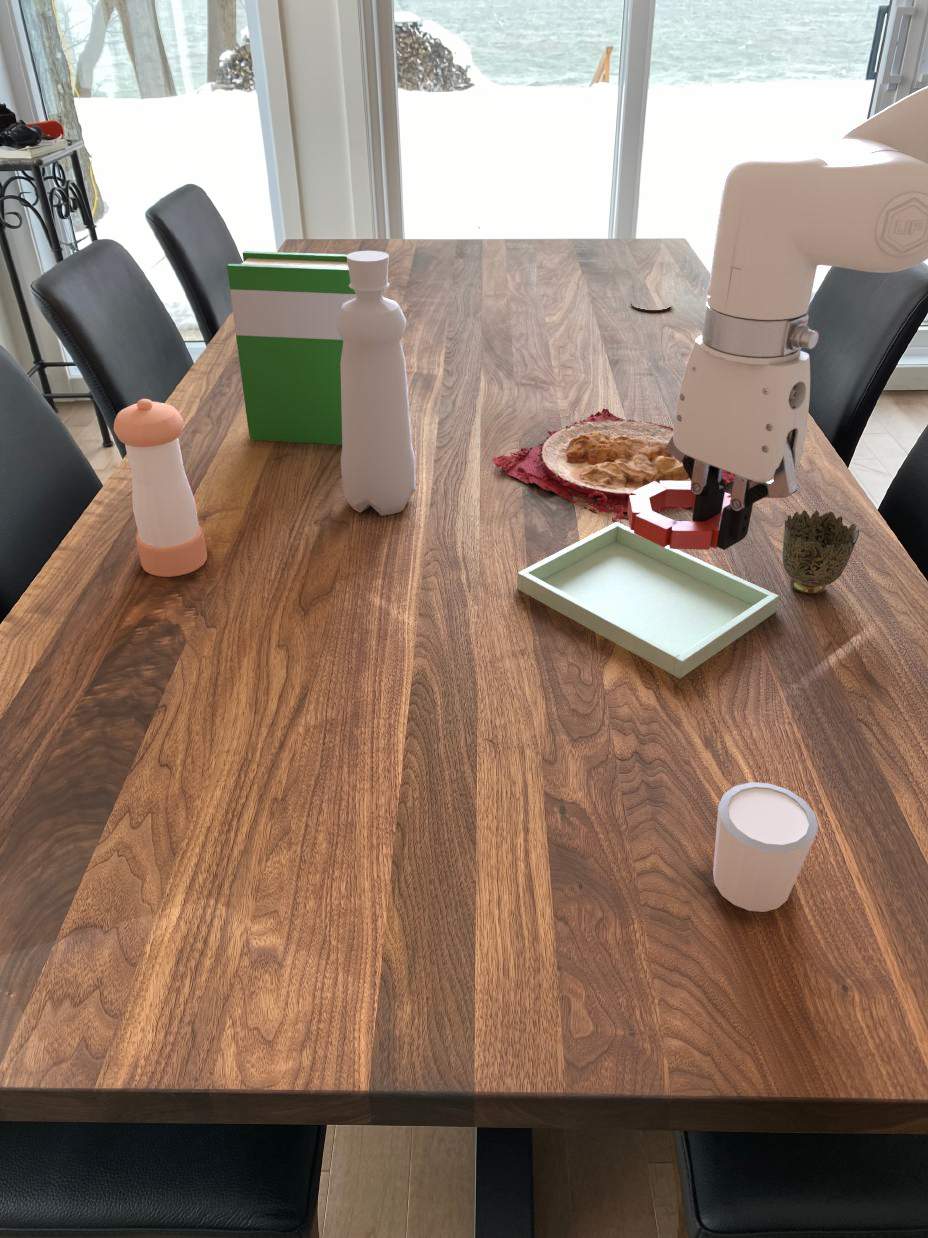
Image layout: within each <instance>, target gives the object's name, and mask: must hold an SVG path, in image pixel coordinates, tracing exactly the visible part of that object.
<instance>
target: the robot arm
mask: <svg viewBox="0 0 928 1238" xmlns="http://www.w3.org/2000/svg"><path fill="white" fill-rule="evenodd" d="M720 196H721V197H720V204H719V209H718V210H719V211H718V219H717V224H716V234H715V240H714V247H713V253H712V261H711V268H710V276H709V283H708V289H707V295H706V303H705V310H704V317H703V324H702V325H703V326H702V332H701V335H699V336H698V337H696V339H695V341H694V343H693V346H692V348H691V350H690V353H689V356H688V358H687V362H686V365H685V369H684V372H683V375H682V380H681V384H680V388H679V392H678V397H677V402H676V407H675V412H674V418H673V427H672V428H673V436H672V438H671V439H670V441H669V443H668V445H667V449H668V451H669V452H670V453H671V454H672V455H673V456H674V457H675V458H676V459H677V460H678V461H679V462H680V463H683V467H684V469H685V470H686V472H687V474H688V476H689V478H690V479H691V490H692V492H693V493H694V494H696V497H695V504H694V508H693V510H692V511H693V512H692V517H691V518H692V521H693V522H704V521H706V520H708V519H710V518H712V517H714V516H716V515H717V514H719V513H721V511H722V506H723V500H724V494H725V492H726V491H725V486H723V485H721V482H722V481H721V477H722V471H723V470H725V471H727V472H730V473H732V474H735V476H734V480H733V481H732V488H731V493H730V494H731V500H730V504H729V505H727V506H726V507H724V508H723V511H722V517H721V523H720V529H719V530H720V531H719V537H718V543H717V545H718V547H717V549H718V548H719V549H721V550H723V551H725V550H727V549H729V548H731V547H732V546H734V545H736V544H737V543H740V542H741V541H743V540H745V538H746V537H747V535H748V532H749V527H750V523H751V517H752V511H753V507H754V504H755V503H756V502H759V501H761V500H762V499H783V498H788V497H790V496H791V495H793V494H795V493H797V491H798V489H799V487H798V482H797V476H796V475H797V474H796V470H795V469H796V468H797V467H799V465H800V463H801V460H802V456H803V452H804V447H805V441H806V434H807V427H808V419H809V410H810V399H811V357H810V354H809V353H808V352H806V351H803V350H802V349H803V348H805V349H808V350H813V348H815V347H816V346H817V344H818V342H819V341H818V340H819V337H820V335H819V334H820V333H819V332H818V331H817V330H814V329H811V327H809V326H808V325H809V324H808V323H809V318H810V314H808V312H809V308H810V303H811V298H812V292H813V288H814V283H815V277H816V273H817V267H818V266H827V267H834V268H842V269H847V270H853V271H858V272H859V271H860V272H867V273H876V274H877V273H878V274H888V273H897V272H901V271H905V270H909V269H911V268H914V267H916V266H917V265H920V264H922V263H923V262H925V261H926V260H928V85H927V86H925V87H923V88H921V89H919V90H917V91H915V92H913V93H910V94H909V95H907V96H905V97H903V98H901V99H900V100H898V101H897V102H895V103H893V104H891V105H889V106H887V107H886V108H883V110H881V111H879V112H877V113H876V114H874V115H873V116H871V117H869V118H868V119H865V120H864V121H863V122H861V123H859V124H857V125H856V126H854V127H853V128H850V129H849V130H848V131H846V132H845V133H843V134H842V135H840V136H838V137H837V138H836V139H835V140H833V141H832V142H830V143H829V144H828V145H827V146H826V147H825V148H824V149H822V151H820V152H819V153H818V154H817V156H816V155H814V154H808V153H804V152H796V151H785V150H765V151H764V150H763V151H762V150H761V151H752V152H748V153H745V154H742V155H740V156H738V157H736V158H735V159H733V160H732V162H731V163H730V164H729V166H728V167H727V169H726V172H725V175H724V178H723V184H722V189H721V195H720Z"/></svg>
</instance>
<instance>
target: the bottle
mask: <svg viewBox="0 0 928 1238" xmlns="http://www.w3.org/2000/svg"><path fill="white" fill-rule="evenodd" d="M346 255H347V262H348V268H349V274H350V281H351V283H350V285H349V287H350V288H352V289H354V291H355V293H356V295H357V298H355V299H352V300H350V301H348V302H345V303H344V304H343V305H342V307H341V309H340V312H339V315H338V317H337V320H336V322H335V323H336V327H337V330H338V334H339V336H340V337H341V339H342V340H343V349H342V356H341V408H342V445H341V446H342V448H341V456H340V470H341V482H342V494H343V497H344V499H345V501H346V502H347V503H348V504H349V506H350V507H351V508H352V509H353V510H354V511H356V512H358V513H362V512H364V511H366V510H368V509H369V508H370V507H372V508H373V509H374V510H375V511H376V512H377V513H378V514H379V515H380V516H382V517H383V516H388V515H394V514H397V513H400V512H403V510H404V509H405V507H406V505H407V504H408V501H410V500H411V498H412V497H413V495H414V493H415V492H416V490H417V487H416V486H417V485H416V455H415V453H414V448H413V441H412V429H411V416H410V402H409V401H410V400H409V389H408V388H409V387H408V376H407V364H406V358H405V354H404V349H403V344H402V341H401V340H402V338H403V337H404V334H405V331H406V326H407V318H406V316H405V315H404V313H403V311H402V308H401V306H400V304H399V303H397V301H395V300H392V299H390V298H387V297H384V296H383V295H384V292H385V290H386V289H388V288H389V287H390V283H389V282H388V275H389V261H390V259H389V258H390V255H389V254H388V253H387V252H384V251H380V250H358V251H353V252H349V253H348V254H346Z"/></svg>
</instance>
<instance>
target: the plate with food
mask: <svg viewBox="0 0 928 1238" xmlns="http://www.w3.org/2000/svg"><path fill="white" fill-rule="evenodd" d="M547 434H548V436H547V437H546V438H545V439H544V440H543V442H541V443H539V444H538V445H537V446H533V447H530V448H529V447H527V446H526V447H524V448H523V447H522V448H520V450H517V451H516V452H511V451H510V452H509V454H510V456H509V455H504V454H503V455H500V456H497V457H495V456H494V457H493V458H492V459H491V461H492V463H493V464H494V465H495V466H496V468H497V469H498V468H501V470H502V471H505V472H504V474H506V475H509V476H510V477H513V478H515V479H518V480H519V481H521V482H523V483H526V484H527V485H531V484H535V485H537V487H540V488H541V489H543V490H545V491H547V492H551V491H552V493H553V492H554V494H556V495H558V497H561V498H563V499H565V500H568V501H570V502H571V503H572V504H576V503H580V502H581V503H584V504H585V505H589V506H591V507H590V510H591V511H592V512H599V513H600V512H601V513H607V514H614V516H613V517H611V520H612V521H613V522H614V523H615V522H618V523H619V520H620V521H621V520H625V521H626V520H627V521H629V518H628V517H626V516H625V514H624V513H627V510H628V501H629V495H631V492H633V491H635V490H637V489H640V488H642V487H644V486H646V485H648V484H650V483H652V482H657V483H659V481H691V479H690V478H689V476H688V474H687V472H686V470H685V469H684V467H683V463H680V462H679V461H678V460H677V459H676V458H675V457H674V456H673V455H672V454H671V453H670V452H669V451H668V449H667V445H668V443H669V441H670V439H671V438H672V436H673V427H671V426H670V425H669V426H668V425H665V424H658V423H654V422H651V421H650V422H649V421H637V420H634V419H623V418H621V417H618V416H616V415H614V414H613V413H612V412H610V410H609V409H608V408H602V410H601V412H600V411H597V412H596V413H595V414H593V413H592V414H590V415H589V416H588V417H587V418H586V419H583V420H579V422H577V421H575V422H574V423H573V424H572V425H571V424H569V425H566V426H565V428H561V429H557V430H551V431H550V430H547ZM734 476H735V474H732V473H730V472H727V471H725V470H723V471H722V477H721V482H722V483H723V485H724V486H727V484H730V483H731V482H732V483H733V482H734ZM572 497H574V498H578V499H581V498H583V499H586V498H587V499H591V501H590V500H588V501H587V500H585V501H579V500H573V498H572ZM594 500H596V501H597V502H596V503H595V502H594ZM680 508H681V509H682V510H687V509H689V507H672V506H664V507H662V508H660V509H658V510H656V511H654V512H656V513H658V514H661V513H663V512H664V511H666V512H668V511H667V510H674V509H675V511H677V509H680ZM585 509H586V510H587V509H588V507H585ZM621 524H624V522H623V521H622V522H621Z"/></svg>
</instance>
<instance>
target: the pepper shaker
mask: <svg viewBox="0 0 928 1238" xmlns="http://www.w3.org/2000/svg"><path fill="white" fill-rule="evenodd" d="M113 421H114V422H113V432H114V434H115V436H116V437H117V439H118V440H119V441H120V442H121V444H124V446H125V453H126V456H127V461H128V466H129V472H130V476H131V496H132V500H131V501H132V513H133V517H134V521H135V525H136V529H137V534H136V540H135V542H136V546H137V551H138V556H139V561H140V566H141V567H142V569H143V571H144V572H146V573H147V574H149V575H153V576H156V577H166V578H170V577H179V576H180V577H181V576H183V575H187V574H190V573H193V572H195V571H196V570H198V569H200V568H201V567H203V566H204V565H205V563H206V561H207V559H208V551H207V547H206V540H205V535H204V529H203V528H202V526H201V525H200V523H199V519H198V513H197V512H198V511H197V503H196V500H195V496H194V494H193V491H192V488H191V485H190V482H189V479H188V477H187V474H186V471H185V467H184V461H183V456H182V451H181V446H180V440H179V437H180V436H181V435H182V434H183V433H182V432H183V428H184V419H183V417H182V414H181V413H180V412H179V410H177V408H175V407H174V406H173V405H171V404H168V403H164V402H159V401H152V400H151V399H148V398H142V399H140V400H138V401H137V403H134V404H133V403H132V404H131V405H129V406H127V407H124V408H123V409H121V410H120V411H119V412H118V413H117V414H116V417H115V418H114V420H113Z"/></svg>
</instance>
